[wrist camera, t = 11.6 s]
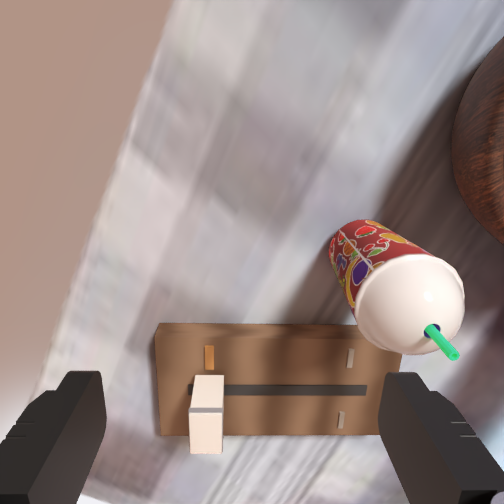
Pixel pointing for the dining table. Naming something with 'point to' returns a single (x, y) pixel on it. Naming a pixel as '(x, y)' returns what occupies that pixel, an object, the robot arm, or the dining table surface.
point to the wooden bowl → (482, 143)
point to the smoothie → (397, 290)
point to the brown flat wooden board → (274, 377)
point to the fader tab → (206, 415)
